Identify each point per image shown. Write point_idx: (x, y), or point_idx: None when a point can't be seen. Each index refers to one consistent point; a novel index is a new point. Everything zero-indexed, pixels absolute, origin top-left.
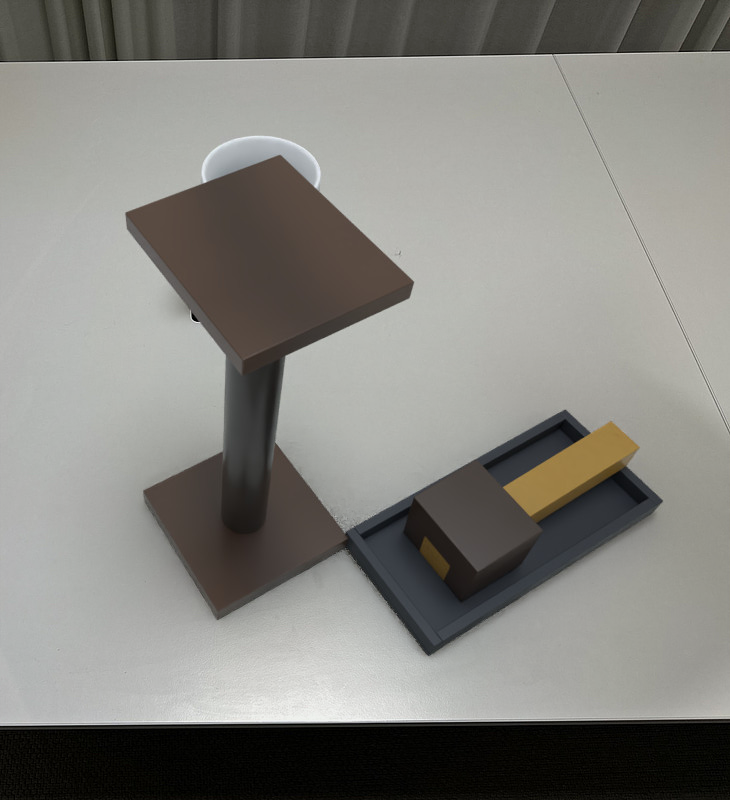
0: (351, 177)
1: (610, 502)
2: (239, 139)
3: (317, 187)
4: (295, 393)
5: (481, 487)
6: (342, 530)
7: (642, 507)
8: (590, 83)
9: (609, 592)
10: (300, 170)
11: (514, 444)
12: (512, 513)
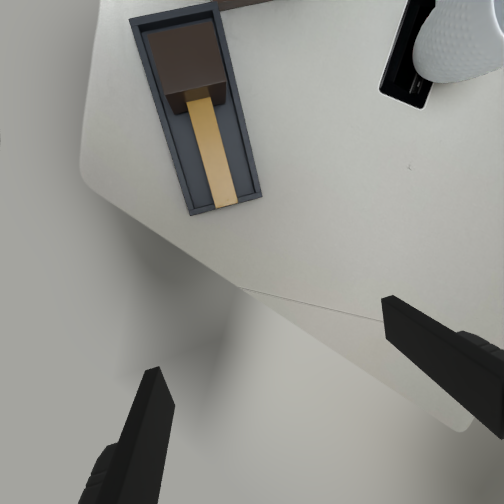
0: (482, 169)
1: (201, 192)
2: None
3: (499, 35)
4: (330, 36)
5: (205, 72)
6: (219, 1)
7: (188, 201)
8: None
9: (151, 161)
10: None
11: (247, 151)
12: (181, 81)
